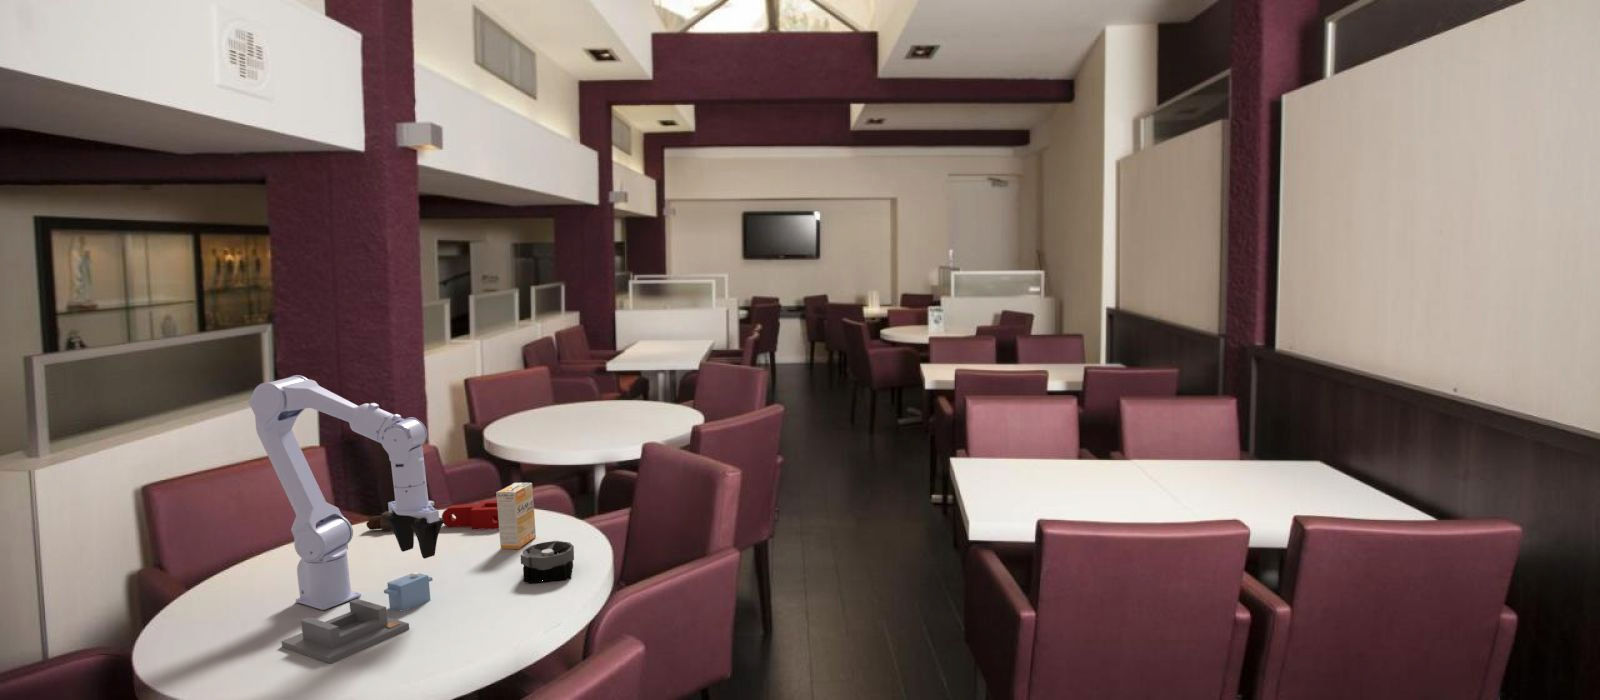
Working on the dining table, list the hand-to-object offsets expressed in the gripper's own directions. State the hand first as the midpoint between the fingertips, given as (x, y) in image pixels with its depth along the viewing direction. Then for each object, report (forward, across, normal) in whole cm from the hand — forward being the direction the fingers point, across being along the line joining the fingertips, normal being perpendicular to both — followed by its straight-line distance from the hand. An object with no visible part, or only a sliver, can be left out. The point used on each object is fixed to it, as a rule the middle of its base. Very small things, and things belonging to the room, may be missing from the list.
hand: (417, 553), depth 177 cm
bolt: (+10, +48, -22) cm, 53 cm away
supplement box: (+10, +13, -31) cm, 35 cm away
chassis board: (+10, -3, +16) cm, 19 cm away
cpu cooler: (+10, -9, -23) cm, 26 cm away
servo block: (+10, +2, +2) cm, 10 cm away
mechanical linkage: (+10, +34, -34) cm, 49 cm away
